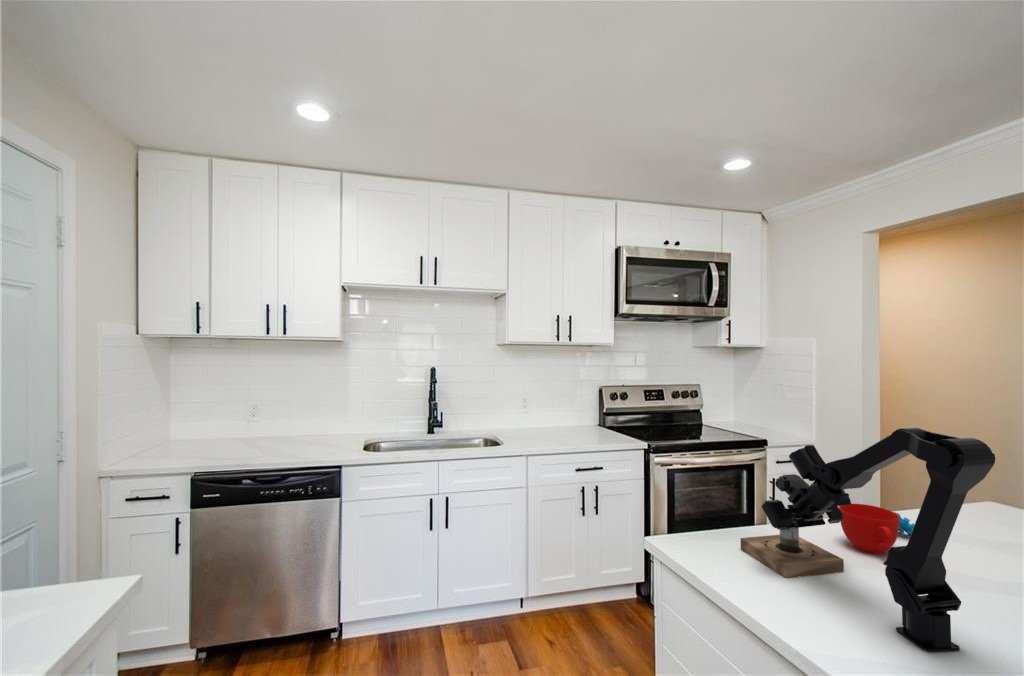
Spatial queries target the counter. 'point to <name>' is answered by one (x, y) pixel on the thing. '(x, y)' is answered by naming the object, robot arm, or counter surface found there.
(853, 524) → the ceramic cup
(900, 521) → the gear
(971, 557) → the counter surface
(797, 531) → the steel roller
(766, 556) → the bearing housing
